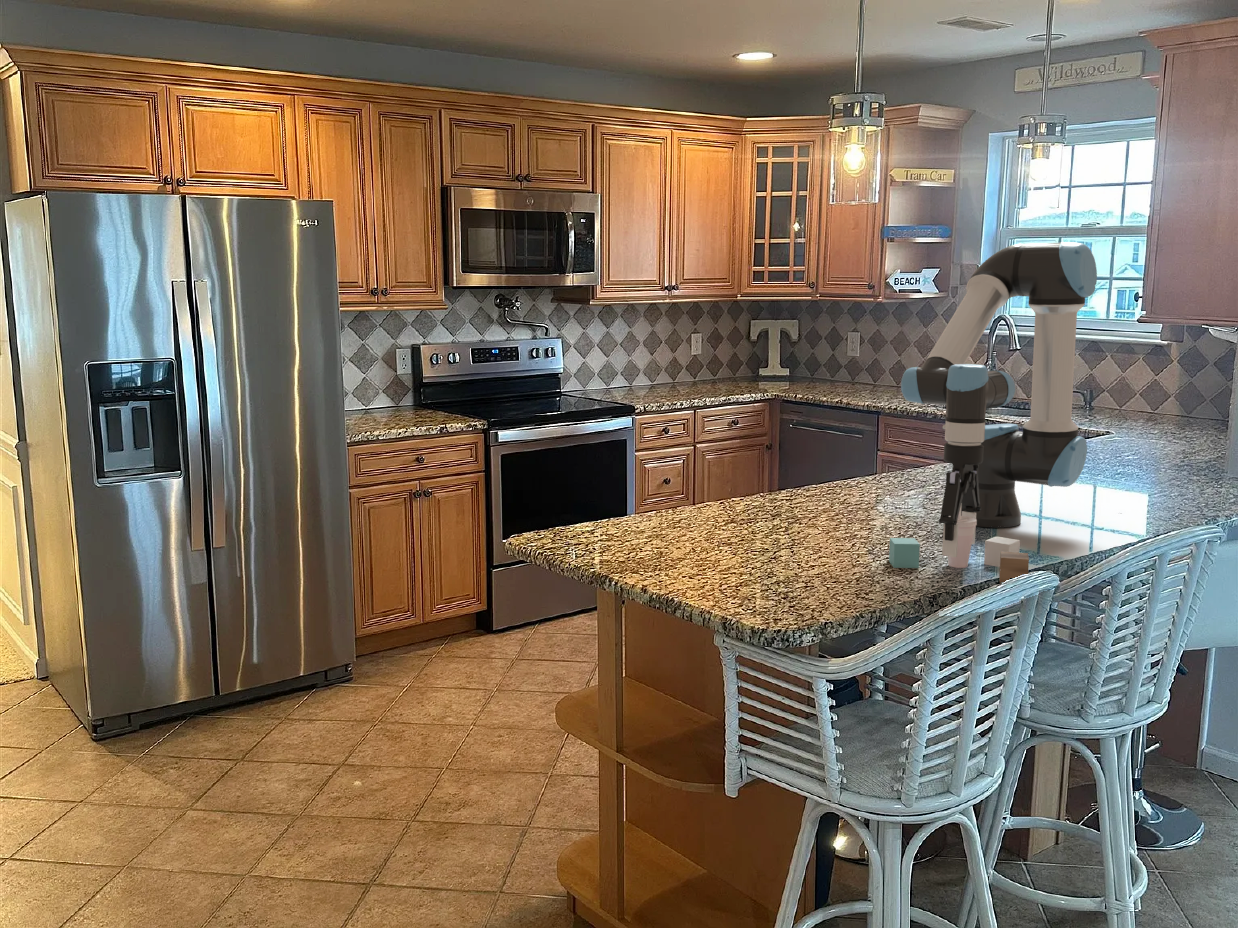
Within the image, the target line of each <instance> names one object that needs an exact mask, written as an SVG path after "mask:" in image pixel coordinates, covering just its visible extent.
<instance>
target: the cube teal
mask: <svg viewBox="0 0 1238 928" xmlns="http://www.w3.org/2000/svg"><path fill="white" fill-rule="evenodd" d="M920 546H921V543H919V541H918V540H917V539H916V538H915V537H910V538H909V537H902V538H901V537H890V538H889V552H888V562H889V563H890V565H891V566H892V568H894V569H897V568H898V569H919V568H920V550H921V547H920Z"/></svg>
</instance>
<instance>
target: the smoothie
mask: <svg viewBox="0 0 1238 928" xmlns="http://www.w3.org/2000/svg"><path fill="white" fill-rule="evenodd" d="M961 505H962V503H961ZM948 517H951V516H948ZM957 524H959V526H958V546H957V557H951V556H947V564H948V566H949V567H950V568H957V569H965V568H968V565H969V560H970V555H971V550H972V545H973V544H972V540H973V534H974V528H975V526H976V525H977V520H976V519H975V518H972V517H968V516H961V507H960V511H959V515H958V520H957ZM976 527H977V526H976Z"/></svg>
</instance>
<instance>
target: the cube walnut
mask: <svg viewBox="0 0 1238 928" xmlns="http://www.w3.org/2000/svg"><path fill="white" fill-rule="evenodd" d="M1029 567H1030V557H1029V552H1028V553H1026V552H1019V553H1017V552H1003V551H1001V553H1000V567H999V573H998V574H999V576H998V578H999V583H1000V584H1001V582H1005V581H1006V580H1009V579H1010V578H1015V577H1018V576H1020V575H1022V574H1028V575H1029V569H1030V568H1029Z"/></svg>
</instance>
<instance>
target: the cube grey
mask: <svg viewBox="0 0 1238 928" xmlns="http://www.w3.org/2000/svg"><path fill="white" fill-rule="evenodd" d="M1020 546H1021V539H1014V538H1010V537H1009V538H1008V537H1002V536H993V537H991V538H989V539H986V540H985V541H984V556H983V557H984V560H983V561H984V563H983V565H986V566H992V567H997V568H1000V553H1001V551H1003V552H1017V553H1020Z"/></svg>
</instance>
